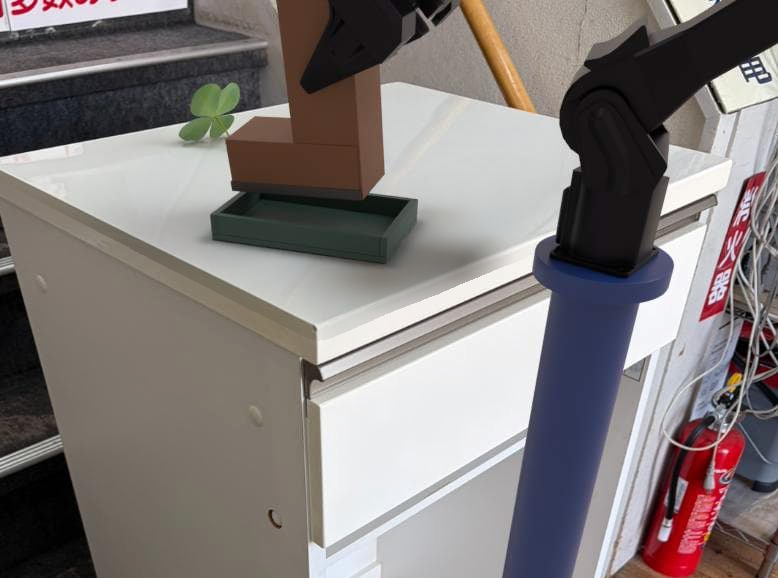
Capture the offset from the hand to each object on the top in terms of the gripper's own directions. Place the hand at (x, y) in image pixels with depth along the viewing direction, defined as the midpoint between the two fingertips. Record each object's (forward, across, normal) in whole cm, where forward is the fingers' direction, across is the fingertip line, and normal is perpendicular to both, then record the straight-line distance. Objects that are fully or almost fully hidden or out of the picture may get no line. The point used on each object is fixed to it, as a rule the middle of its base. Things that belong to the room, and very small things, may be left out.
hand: (317, 80), depth 62 cm
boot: (+6, -1, +5) cm, 8 cm away
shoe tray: (+8, 0, +8) cm, 11 cm away
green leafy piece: (+21, -19, -5) cm, 29 cm away
